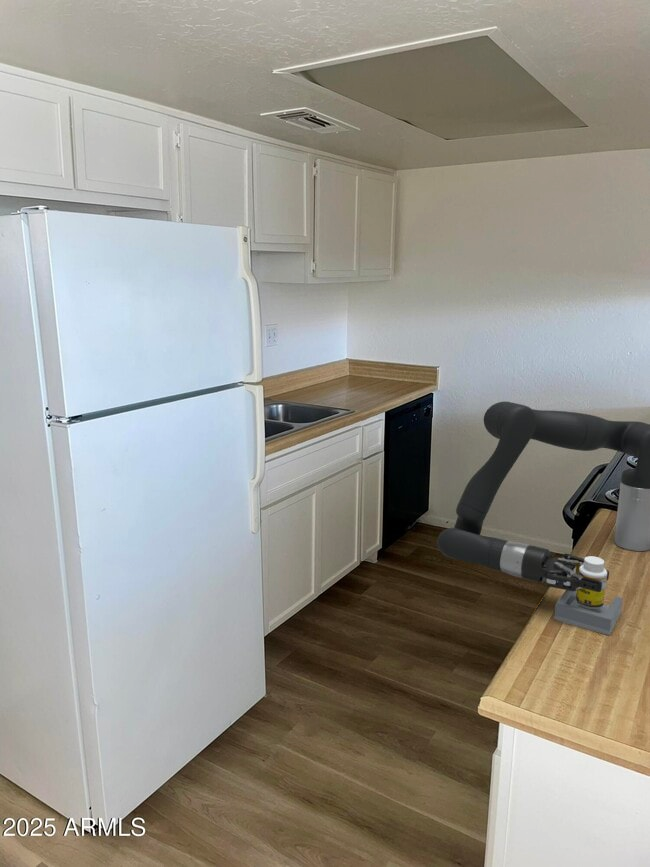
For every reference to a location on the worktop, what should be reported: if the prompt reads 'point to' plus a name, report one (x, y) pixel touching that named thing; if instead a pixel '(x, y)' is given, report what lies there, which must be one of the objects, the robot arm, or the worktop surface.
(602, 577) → the supplement bottle
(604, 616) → the u rest
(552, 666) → the worktop surface
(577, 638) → the worktop surface
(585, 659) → the worktop surface
